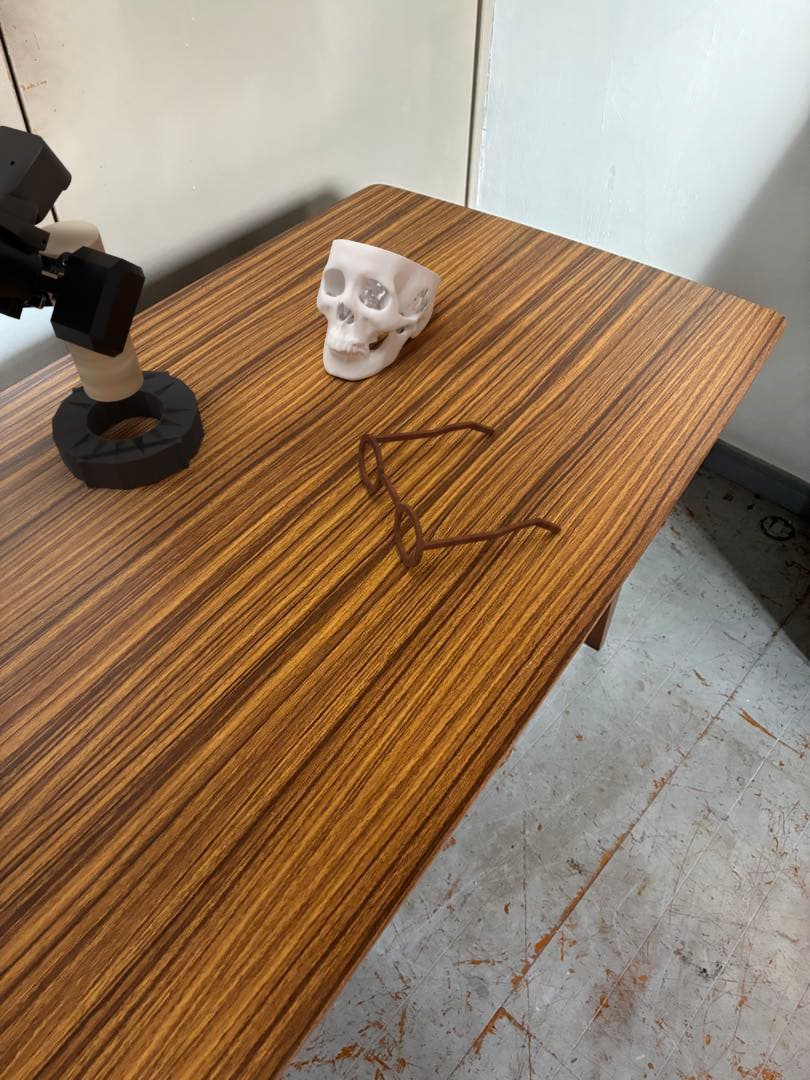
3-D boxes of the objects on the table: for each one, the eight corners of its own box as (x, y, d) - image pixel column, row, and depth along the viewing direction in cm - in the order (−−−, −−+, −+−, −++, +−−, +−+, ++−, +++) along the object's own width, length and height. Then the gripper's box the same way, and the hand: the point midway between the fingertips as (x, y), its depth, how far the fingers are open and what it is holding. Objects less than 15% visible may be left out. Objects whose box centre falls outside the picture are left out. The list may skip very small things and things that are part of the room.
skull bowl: (278, 362, 77) (304, 227, 73) (347, 359, 90) (372, 244, 86) (374, 394, 74) (407, 255, 70) (432, 387, 86) (463, 269, 82)
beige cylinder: (137, 401, 66) (90, 254, 56) (77, 402, 66) (20, 254, 56) (148, 365, 69) (106, 219, 59) (92, 365, 69) (39, 220, 59)
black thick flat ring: (212, 471, 70) (206, 445, 68) (65, 502, 68) (53, 476, 65) (193, 385, 77) (186, 359, 75) (61, 410, 75) (50, 384, 73)
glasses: (355, 469, 70) (352, 425, 66) (493, 432, 73) (497, 387, 69) (411, 582, 62) (411, 539, 58) (563, 535, 65) (573, 491, 61)
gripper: (79, 135, 45) (232, 234, 59) (-147, 73, 51) (43, 177, 65) (23, 331, 46) (186, 380, 61) (-190, 249, 52) (5, 311, 67)
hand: (103, 306), depth 63 cm, fingers closed on beige cylinder, 5 cm apart
